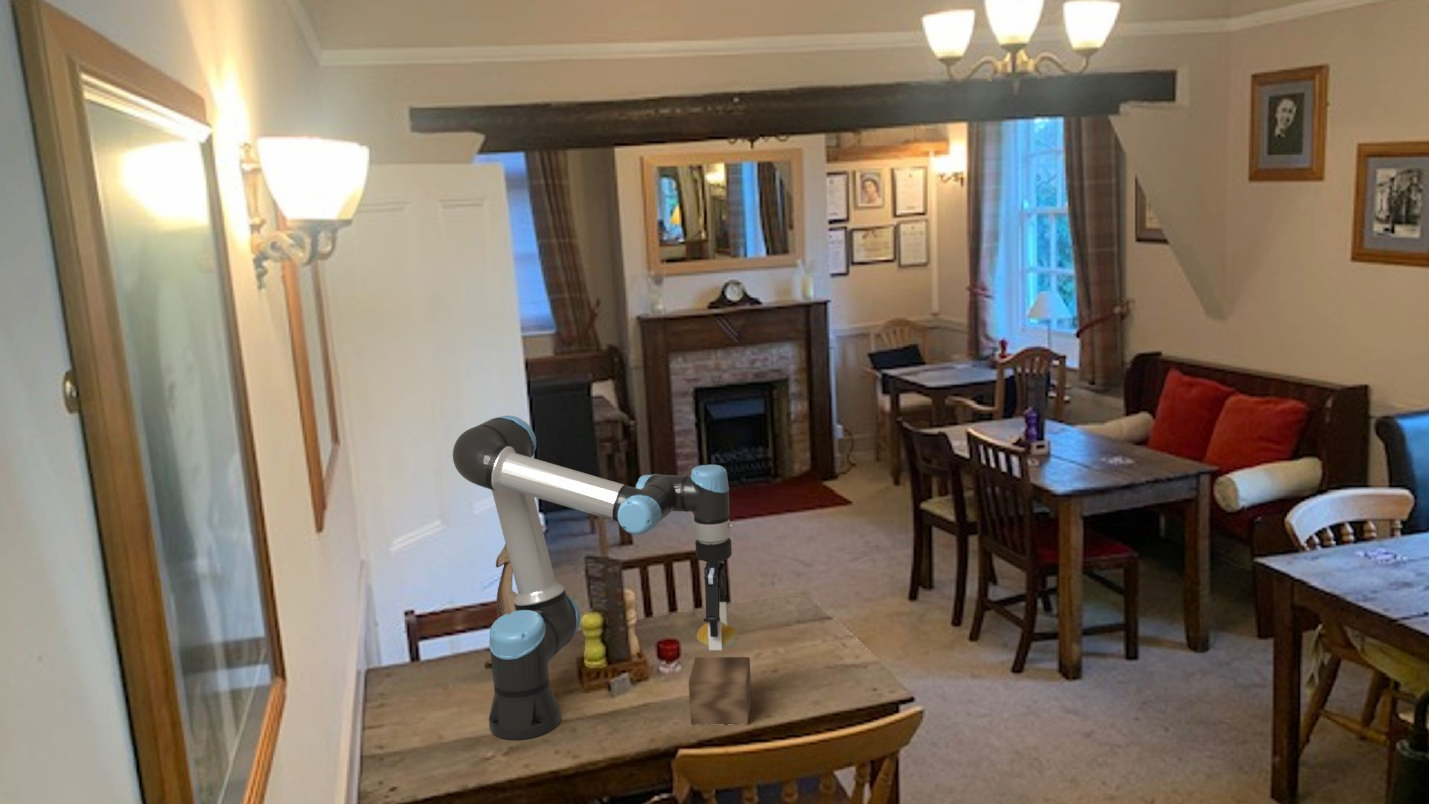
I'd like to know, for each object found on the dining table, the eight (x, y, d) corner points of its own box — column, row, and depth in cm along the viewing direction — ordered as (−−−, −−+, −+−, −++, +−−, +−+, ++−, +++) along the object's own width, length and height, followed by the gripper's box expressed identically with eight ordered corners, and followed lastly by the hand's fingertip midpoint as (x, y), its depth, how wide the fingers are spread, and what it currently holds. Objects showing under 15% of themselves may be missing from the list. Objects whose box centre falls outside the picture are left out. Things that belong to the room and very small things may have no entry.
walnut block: (691, 725, 225) (688, 681, 223) (697, 699, 236) (695, 657, 234) (747, 725, 223) (745, 681, 221) (751, 699, 235) (749, 657, 233)
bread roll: (718, 653, 221) (717, 635, 220) (691, 641, 227) (690, 624, 227) (748, 641, 226) (747, 623, 225) (720, 630, 233) (719, 612, 232)
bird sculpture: (482, 671, 257) (467, 546, 250) (517, 652, 266) (504, 531, 259) (514, 682, 250) (500, 554, 243) (549, 662, 259) (537, 538, 252)
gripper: (724, 556, 211) (730, 661, 215) (736, 523, 233) (741, 619, 237) (687, 556, 212) (693, 661, 216) (702, 523, 234) (707, 619, 238)
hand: (718, 639), depth 227 cm, fingers closed on bread roll, 9 cm apart
